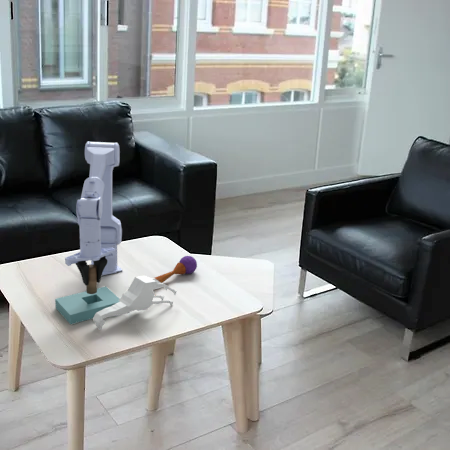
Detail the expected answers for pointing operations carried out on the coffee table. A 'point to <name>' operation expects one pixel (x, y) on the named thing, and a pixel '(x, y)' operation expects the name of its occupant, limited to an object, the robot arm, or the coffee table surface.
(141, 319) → the coffee table surface
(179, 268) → the purple ball maraca
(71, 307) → the socket board
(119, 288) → the coffee table surface
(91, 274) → the peg
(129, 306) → the horse figurine
